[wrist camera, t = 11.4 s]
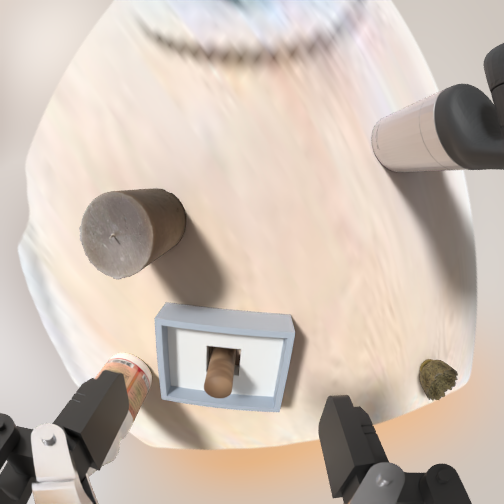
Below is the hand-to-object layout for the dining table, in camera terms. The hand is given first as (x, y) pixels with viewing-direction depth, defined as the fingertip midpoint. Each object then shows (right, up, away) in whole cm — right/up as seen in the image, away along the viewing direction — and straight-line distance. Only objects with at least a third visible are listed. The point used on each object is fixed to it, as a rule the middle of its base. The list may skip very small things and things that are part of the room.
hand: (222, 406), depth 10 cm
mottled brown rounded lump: (+37, -18, +38) cm, 56 cm away
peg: (-4, -11, +36) cm, 38 cm away
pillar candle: (-14, +11, +32) cm, 36 cm away
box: (-3, -11, +36) cm, 38 cm away
